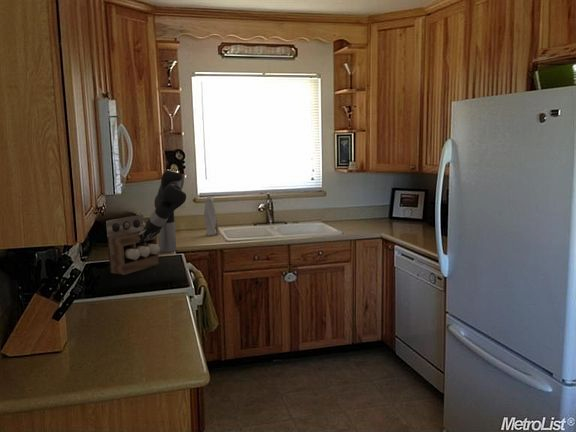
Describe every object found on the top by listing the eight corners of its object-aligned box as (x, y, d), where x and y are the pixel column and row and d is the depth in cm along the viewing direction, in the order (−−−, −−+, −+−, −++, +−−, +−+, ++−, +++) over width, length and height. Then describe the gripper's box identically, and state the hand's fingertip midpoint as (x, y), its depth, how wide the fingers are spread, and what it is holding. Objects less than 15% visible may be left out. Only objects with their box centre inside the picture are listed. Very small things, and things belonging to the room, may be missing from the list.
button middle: (132, 256, 249) (132, 246, 249) (140, 254, 254) (139, 244, 253) (142, 257, 246) (142, 247, 245) (150, 255, 250) (149, 245, 249)
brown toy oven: (110, 272, 247) (105, 220, 243) (145, 262, 266) (141, 214, 262) (123, 274, 241) (119, 221, 238) (158, 264, 261) (155, 215, 257)
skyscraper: (208, 236, 339) (205, 195, 335) (203, 235, 346) (201, 194, 342) (219, 235, 344) (217, 194, 340) (214, 233, 350) (212, 194, 346)
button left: (122, 259, 244) (121, 249, 243) (130, 257, 248) (129, 247, 247) (132, 260, 240) (131, 250, 240) (140, 258, 244) (139, 248, 244)
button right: (143, 253, 255) (142, 244, 254) (150, 251, 259) (149, 242, 258) (152, 255, 251) (152, 245, 251) (160, 253, 256) (159, 243, 255)
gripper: (163, 212, 238) (147, 235, 246) (142, 216, 226) (125, 240, 234) (172, 223, 235) (155, 247, 244) (151, 228, 224) (134, 252, 232)
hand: (141, 243), depth 239 cm, fingers closed
